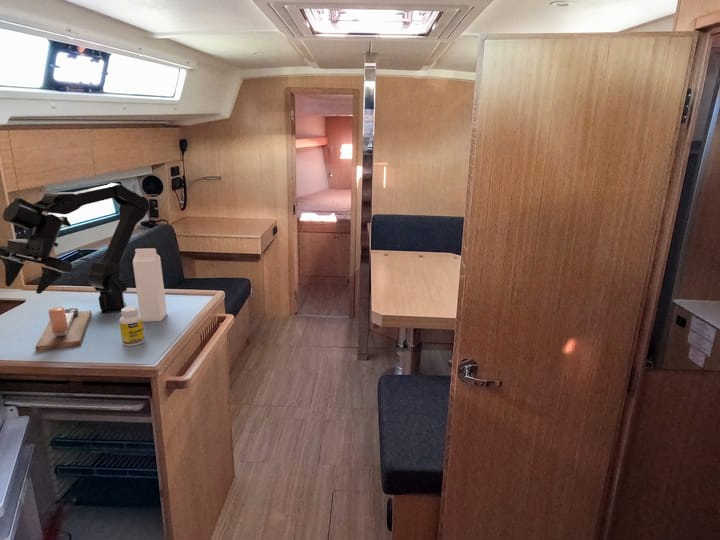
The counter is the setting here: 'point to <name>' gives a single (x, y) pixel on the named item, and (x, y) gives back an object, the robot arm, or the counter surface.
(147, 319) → the milk
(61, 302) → the counter surface
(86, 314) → the light wooden base
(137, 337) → the supplement bottle
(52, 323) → the lever
